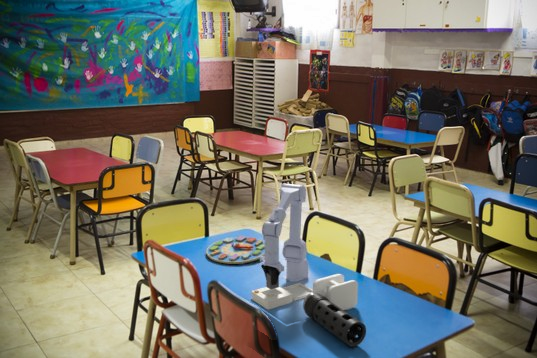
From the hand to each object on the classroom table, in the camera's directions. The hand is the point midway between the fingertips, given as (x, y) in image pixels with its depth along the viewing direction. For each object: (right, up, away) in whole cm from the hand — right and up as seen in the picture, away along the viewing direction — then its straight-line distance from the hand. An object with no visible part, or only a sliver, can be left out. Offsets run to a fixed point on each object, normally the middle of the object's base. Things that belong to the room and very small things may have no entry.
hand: (271, 282), depth 234 cm
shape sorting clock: (-17, +4, +56) cm, 58 cm away
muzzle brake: (+22, -14, -22) cm, 34 cm away
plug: (0, -2, +1) cm, 2 cm away
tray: (+11, -6, +9) cm, 15 cm away
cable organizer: (+25, -9, -3) cm, 27 cm away
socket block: (0, -8, +2) cm, 8 cm away
